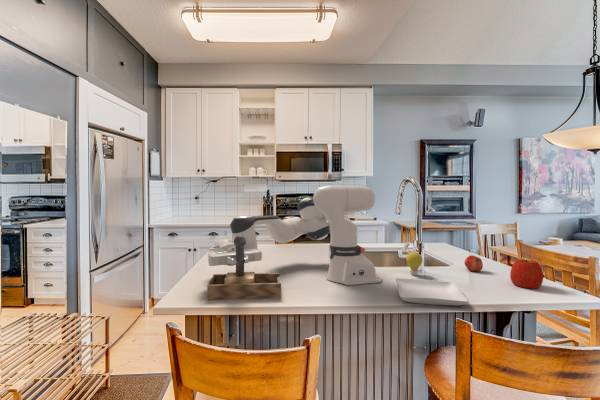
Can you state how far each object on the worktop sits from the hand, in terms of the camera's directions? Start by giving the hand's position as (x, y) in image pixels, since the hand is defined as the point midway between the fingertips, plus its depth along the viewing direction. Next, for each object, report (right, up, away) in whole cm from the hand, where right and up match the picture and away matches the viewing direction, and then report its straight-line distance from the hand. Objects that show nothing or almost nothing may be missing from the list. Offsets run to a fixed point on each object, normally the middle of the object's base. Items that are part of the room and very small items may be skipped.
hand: (240, 261), depth 120 cm
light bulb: (+71, -11, +25) cm, 76 cm away
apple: (+110, -12, +10) cm, 111 cm away
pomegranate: (+101, -11, +32) cm, 106 cm away
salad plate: (+67, -13, -2) cm, 68 cm away
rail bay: (+2, -12, +2) cm, 12 cm away
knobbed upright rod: (0, -10, +1) cm, 10 cm away
